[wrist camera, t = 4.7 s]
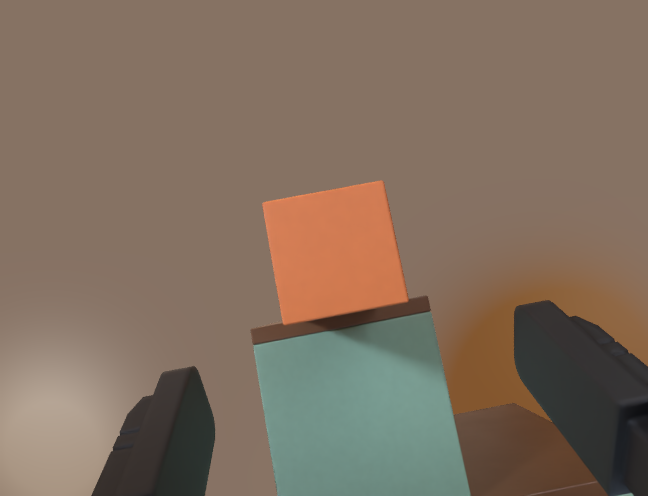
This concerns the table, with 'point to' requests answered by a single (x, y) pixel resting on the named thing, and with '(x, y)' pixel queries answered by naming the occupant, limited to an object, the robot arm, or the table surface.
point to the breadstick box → (334, 253)
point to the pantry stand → (395, 416)
